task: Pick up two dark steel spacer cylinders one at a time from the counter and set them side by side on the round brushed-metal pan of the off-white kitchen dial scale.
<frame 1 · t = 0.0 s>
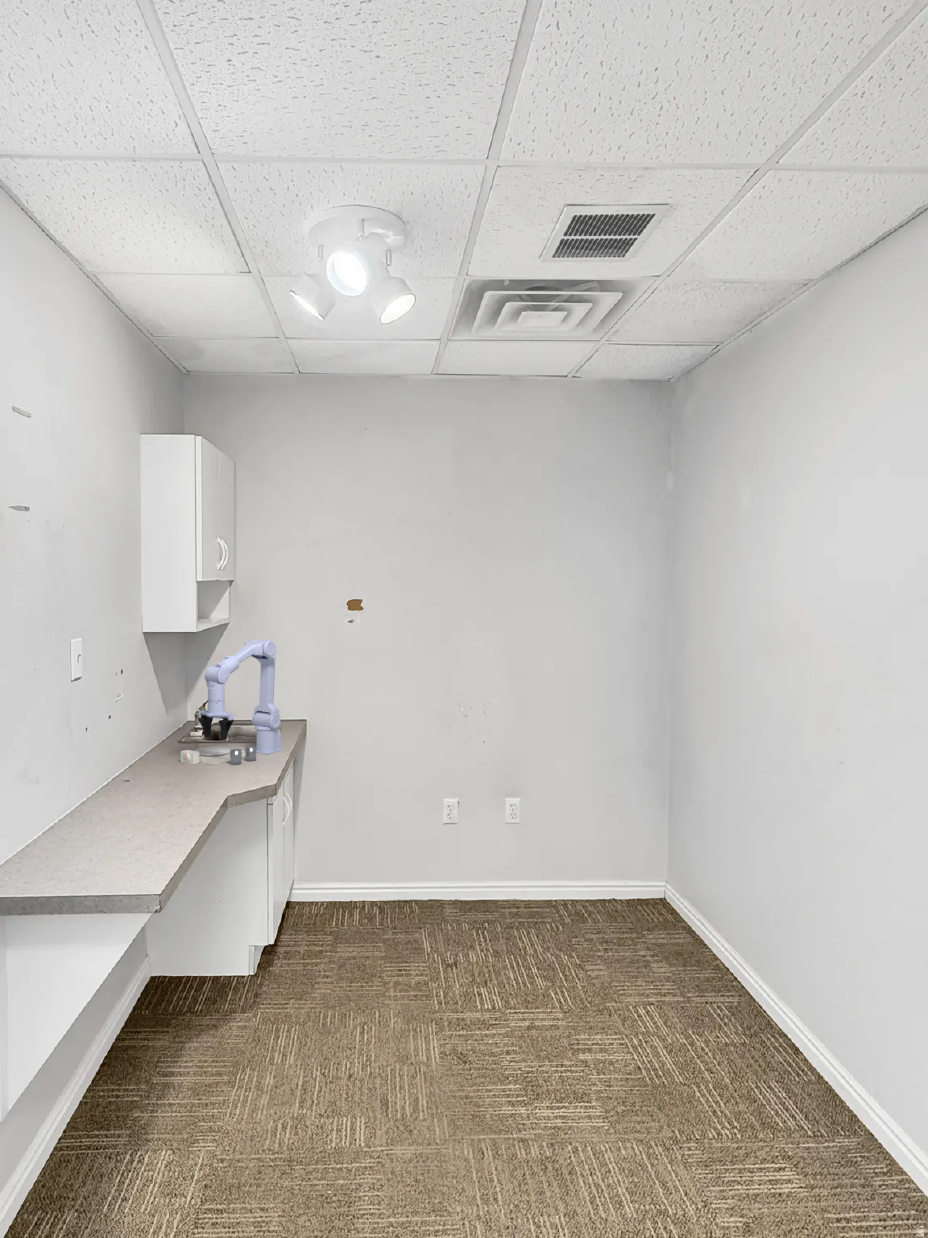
hand: (215, 738, 299), 10 cm above the counter, fingers open, 7 cm apart
spacer b: (235, 763, 303), on the counter
spacer a: (250, 760, 309), on the counter
scale: (213, 757, 311), on the counter
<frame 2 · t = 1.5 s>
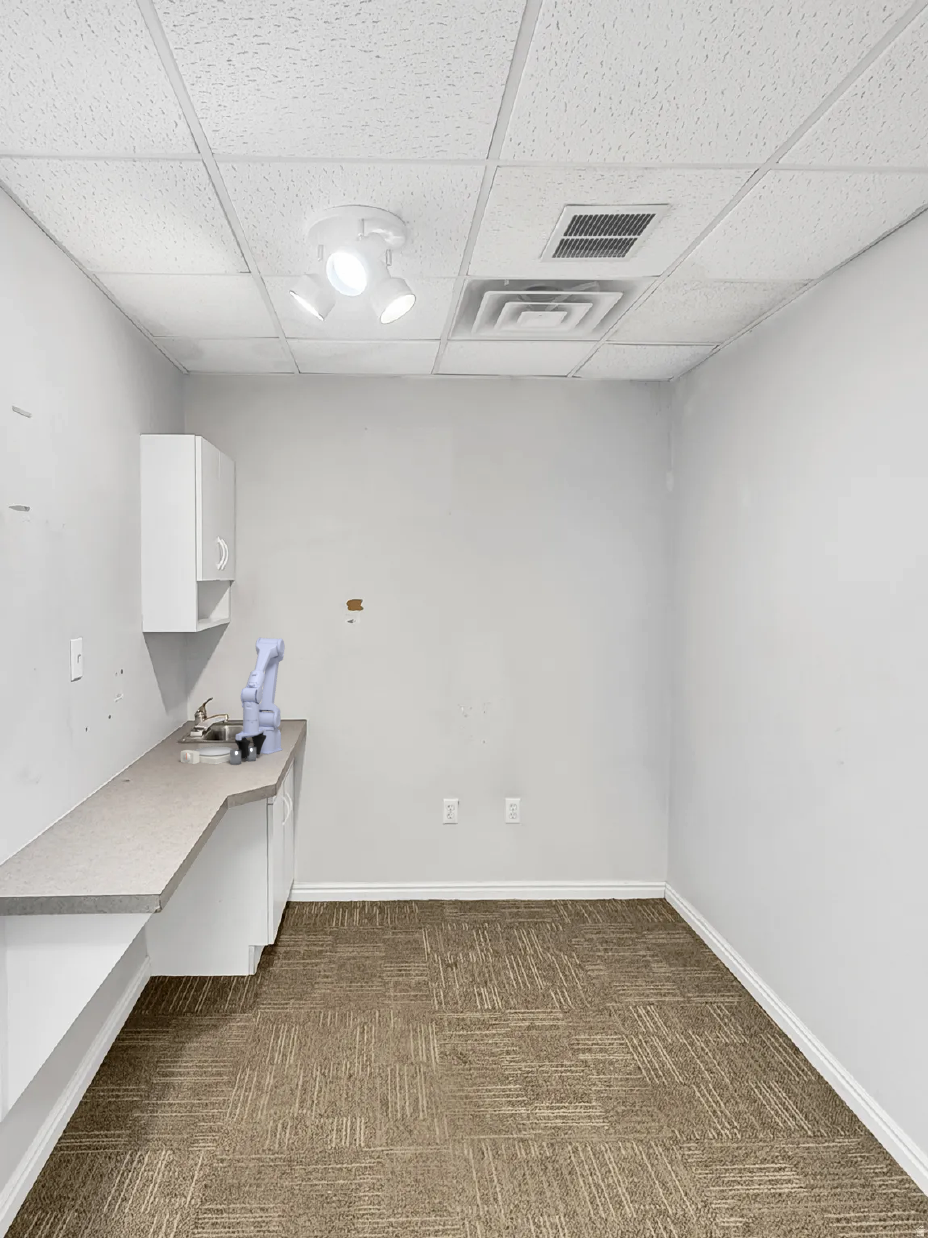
hand: (250, 756, 309), 1 cm above the counter, fingers open, 7 cm apart
spacer b: (235, 763, 303), on the counter, touching gripper
everything else where it was.
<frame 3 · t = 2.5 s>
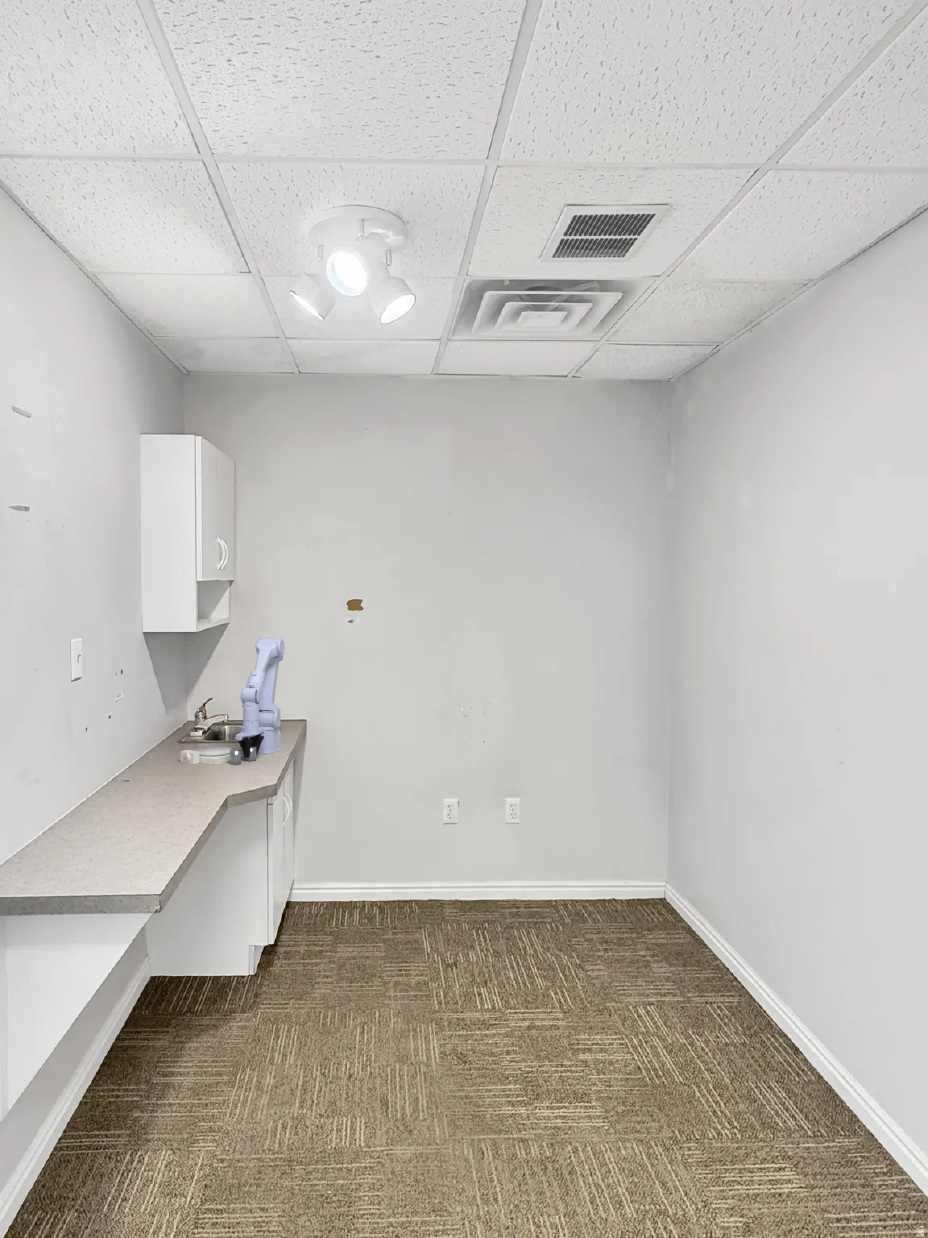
hand: (250, 756, 309), 1 cm above the counter, fingers closed on spacer a, 4 cm apart
spacer b: (235, 763, 303), on the counter
spacer a: (250, 760, 309), on the counter, touching gripper
when the fingers open (5 cm above the counter, at t = 4.9 s): spacer a stays where it is, resting on scale.
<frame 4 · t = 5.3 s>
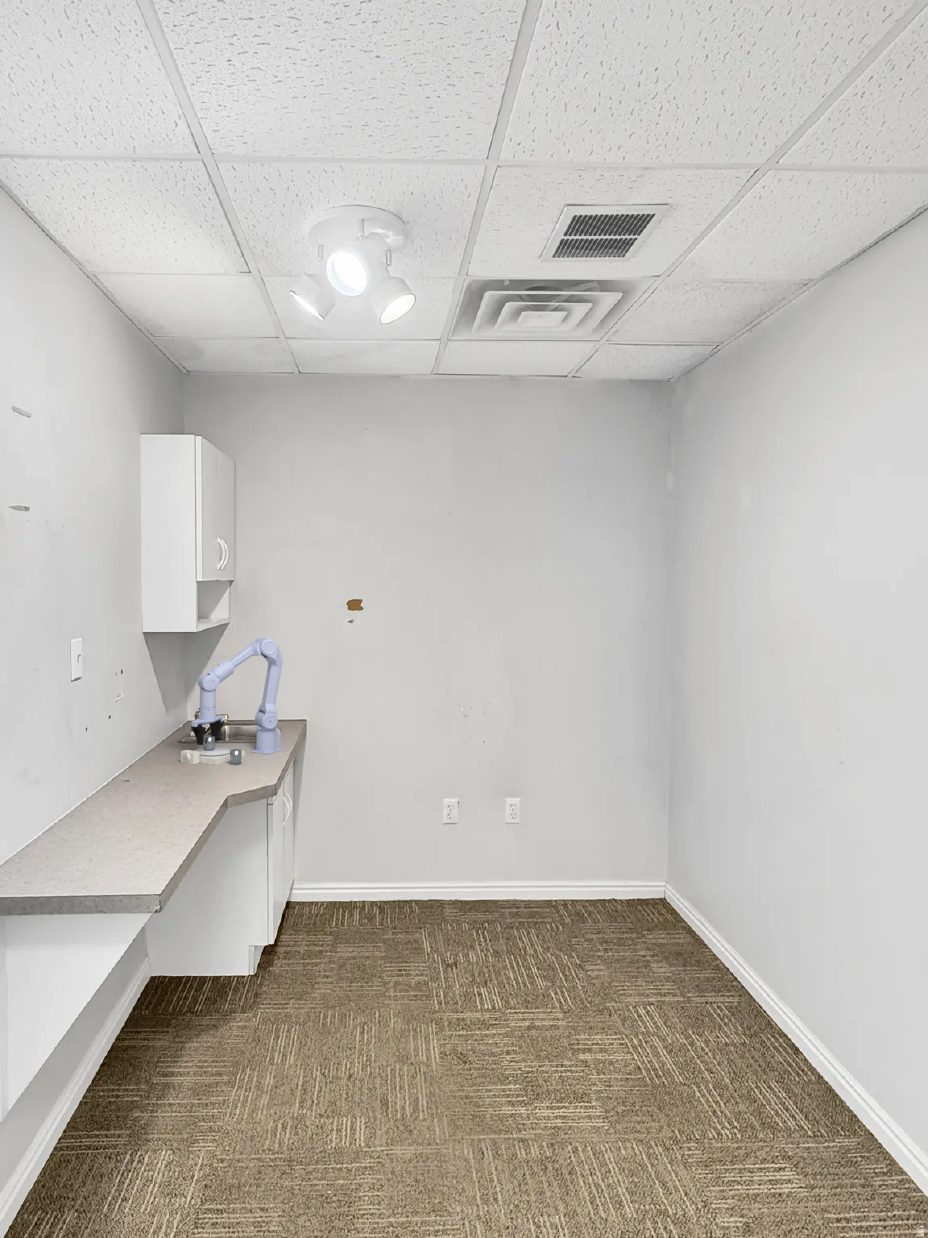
hand: (207, 743, 312), 5 cm above the counter, fingers open, 7 cm apart
spacer a: (209, 749, 312), point 3 cm above the counter, touching scale
everything else where it was.
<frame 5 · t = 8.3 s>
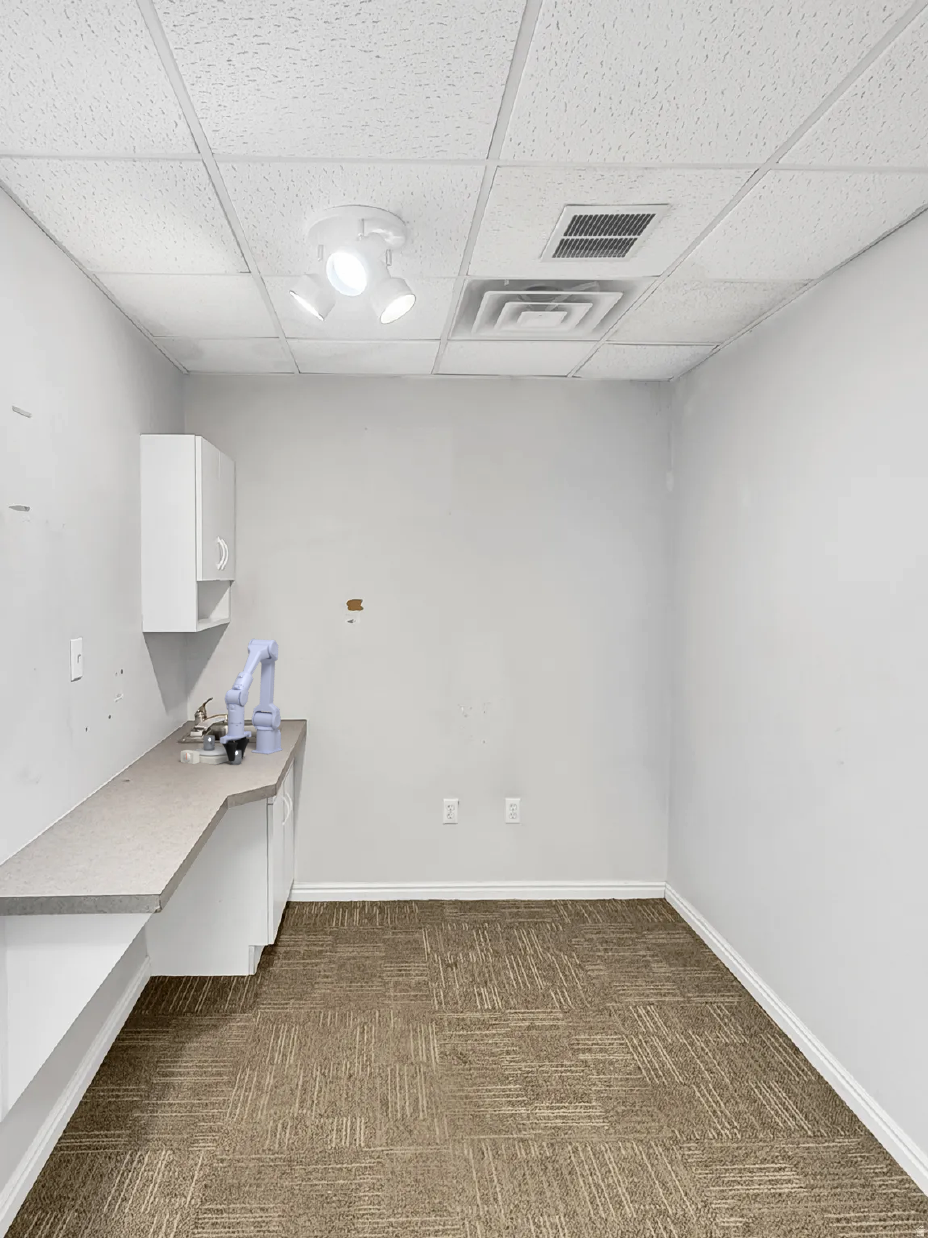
hand: (235, 759, 303), 1 cm above the counter, fingers closed on spacer b, 4 cm apart
spacer b: (235, 763, 303), on the counter, touching gripper
everything else where it was.
when the fingers open (5 cm above the counter, at t = 10.7 s): spacer b stays where it is, resting on scale.
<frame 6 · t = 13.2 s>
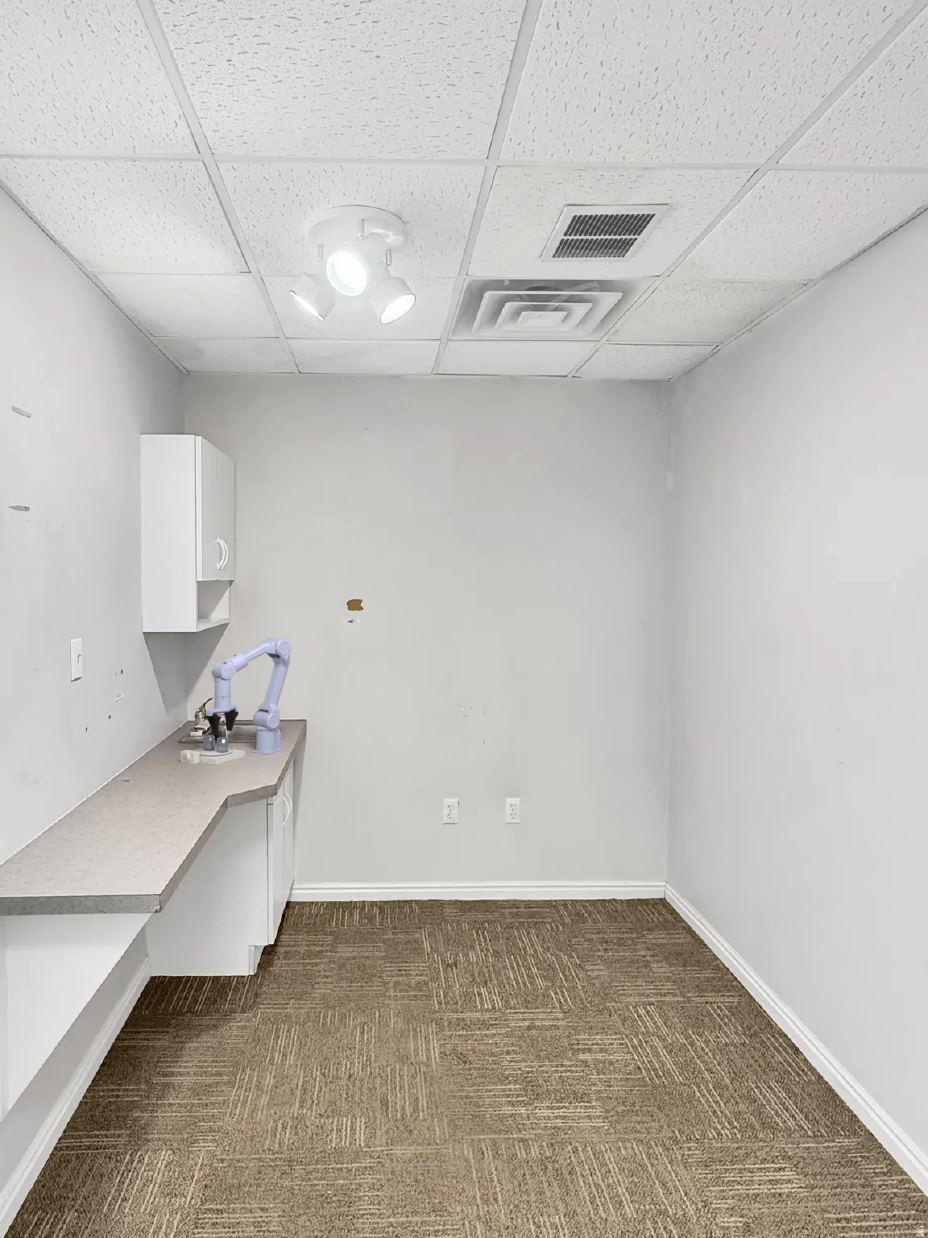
hand: (222, 732, 309), 10 cm above the counter, fingers open, 7 cm apart
spacer b: (222, 751, 309), point 3 cm above the counter, touching scale
everything else where it was.
at the end: spacer a inside the target area on the scale (2.2 cm from its centre), point 2.8 cm above the scale's base; spacer b inside the target area on the scale (4.3 cm from its centre), point 2.8 cm above the scale's base; spacer b tilted 0° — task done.
